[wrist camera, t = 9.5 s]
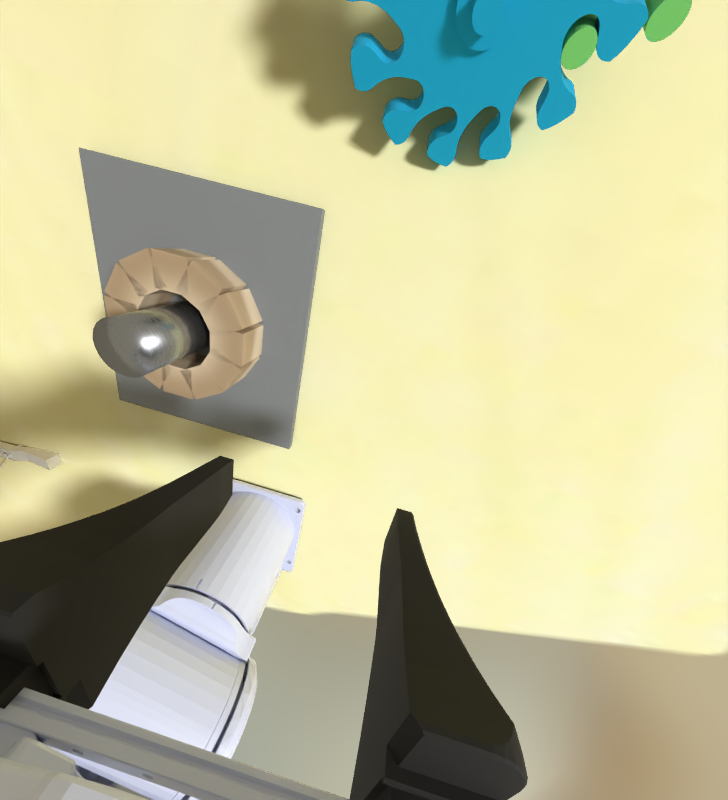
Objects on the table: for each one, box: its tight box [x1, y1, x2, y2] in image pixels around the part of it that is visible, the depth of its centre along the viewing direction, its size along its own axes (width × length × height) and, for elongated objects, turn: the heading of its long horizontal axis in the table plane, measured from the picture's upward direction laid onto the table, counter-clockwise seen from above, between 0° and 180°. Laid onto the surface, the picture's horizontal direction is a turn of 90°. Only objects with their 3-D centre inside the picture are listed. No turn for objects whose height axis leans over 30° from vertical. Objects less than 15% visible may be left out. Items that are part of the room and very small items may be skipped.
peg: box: [93, 300, 210, 378], centre depth 17 cm, size 3×3×6 cm
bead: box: [104, 248, 263, 399], centre depth 19 cm, size 8×8×2 cm
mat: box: [79, 148, 325, 449], centre depth 20 cm, size 16×14×1 cm
